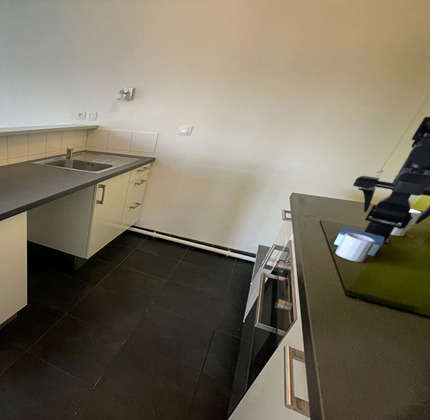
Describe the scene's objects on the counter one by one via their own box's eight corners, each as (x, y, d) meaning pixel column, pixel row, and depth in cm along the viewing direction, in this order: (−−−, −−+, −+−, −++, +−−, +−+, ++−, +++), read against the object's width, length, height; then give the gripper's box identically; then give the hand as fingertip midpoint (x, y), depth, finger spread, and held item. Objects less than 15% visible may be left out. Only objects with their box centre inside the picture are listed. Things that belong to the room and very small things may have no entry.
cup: (337, 249, 81) (347, 231, 78) (364, 258, 76) (376, 238, 74) (333, 254, 78) (344, 235, 75) (361, 264, 73) (374, 243, 71)
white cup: (412, 238, 92) (429, 214, 89) (387, 235, 94) (403, 211, 90) (390, 229, 100) (405, 206, 96) (367, 226, 101) (381, 204, 97)
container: (337, 237, 90) (343, 226, 88) (377, 249, 83) (384, 237, 81) (332, 243, 85) (339, 232, 83) (374, 256, 78) (382, 244, 76)
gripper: (365, 159, 67) (337, 211, 73) (496, 174, 53) (448, 237, 59) (369, 156, 73) (343, 205, 79) (488, 169, 59) (446, 227, 65)
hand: (389, 217), depth 70 cm, fingers open, 9 cm apart
